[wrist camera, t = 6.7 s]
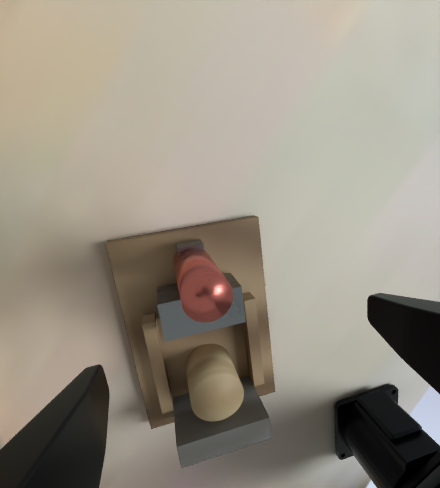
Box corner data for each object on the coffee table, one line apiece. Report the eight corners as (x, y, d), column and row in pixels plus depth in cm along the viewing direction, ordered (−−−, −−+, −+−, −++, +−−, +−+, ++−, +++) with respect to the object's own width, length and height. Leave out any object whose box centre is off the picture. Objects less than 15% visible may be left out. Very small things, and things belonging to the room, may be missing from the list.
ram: (234, 303, 20) (266, 354, 14) (163, 320, 19) (167, 381, 13) (225, 234, 18) (256, 258, 13) (148, 248, 17) (145, 281, 12)
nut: (232, 377, 21) (246, 412, 18) (189, 389, 21) (195, 427, 17) (227, 338, 20) (240, 368, 17) (181, 350, 20) (186, 383, 17)
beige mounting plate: (271, 384, 23) (299, 434, 19) (151, 420, 21) (150, 485, 17) (254, 215, 20) (284, 226, 15) (107, 240, 18) (90, 262, 13)
